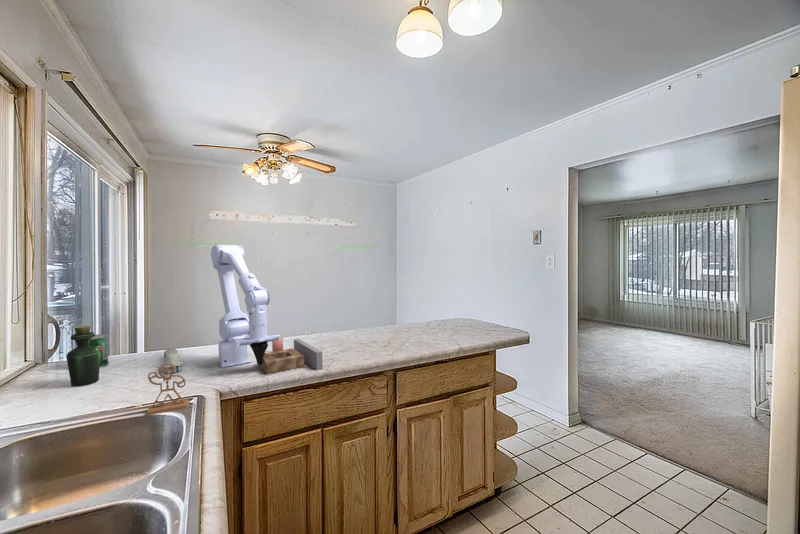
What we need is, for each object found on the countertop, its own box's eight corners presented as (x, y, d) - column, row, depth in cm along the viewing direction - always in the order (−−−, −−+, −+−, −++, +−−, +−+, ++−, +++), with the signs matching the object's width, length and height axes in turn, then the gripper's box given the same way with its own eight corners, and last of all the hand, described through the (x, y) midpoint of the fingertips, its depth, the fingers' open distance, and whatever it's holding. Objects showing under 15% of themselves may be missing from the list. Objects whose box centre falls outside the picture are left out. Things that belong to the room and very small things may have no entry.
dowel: (274, 357, 135) (273, 336, 135) (271, 354, 139) (270, 334, 138) (284, 355, 138) (283, 335, 137) (281, 353, 141) (280, 333, 141)
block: (267, 374, 115) (267, 362, 115) (258, 365, 126) (258, 354, 125) (304, 367, 122) (304, 356, 122) (293, 358, 133) (292, 348, 133)
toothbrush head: (177, 346, 140) (182, 351, 120) (178, 363, 139) (183, 370, 119) (162, 348, 137) (164, 353, 117) (162, 365, 136) (165, 374, 116)
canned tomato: (107, 361, 133) (106, 333, 133) (109, 366, 128) (108, 336, 127) (79, 366, 128) (78, 336, 127) (80, 371, 122) (78, 340, 122)
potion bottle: (108, 379, 114) (106, 324, 113) (80, 388, 106) (77, 329, 105) (89, 377, 115) (86, 323, 115) (60, 386, 108) (57, 329, 107)
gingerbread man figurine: (189, 402, 94) (187, 358, 94) (187, 408, 91) (185, 362, 90) (149, 409, 91) (147, 363, 90) (146, 415, 87) (143, 368, 87)
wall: (317, 370, 119) (316, 352, 119) (294, 354, 139) (293, 339, 139) (322, 368, 120) (322, 351, 120) (299, 353, 140) (298, 338, 140)
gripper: (237, 329, 112) (238, 371, 112) (283, 323, 120) (284, 362, 121) (233, 326, 118) (234, 365, 118) (277, 320, 126) (278, 358, 126)
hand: (259, 364), depth 120 cm, fingers closed
